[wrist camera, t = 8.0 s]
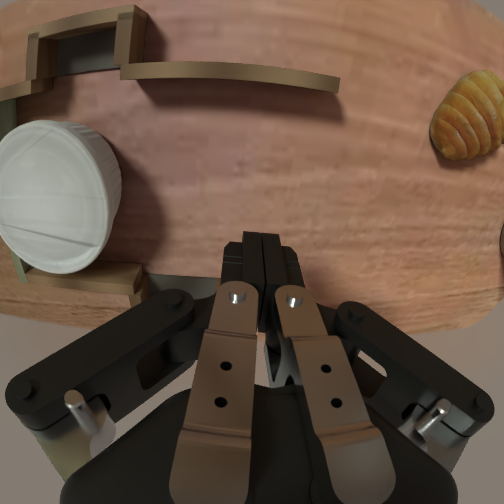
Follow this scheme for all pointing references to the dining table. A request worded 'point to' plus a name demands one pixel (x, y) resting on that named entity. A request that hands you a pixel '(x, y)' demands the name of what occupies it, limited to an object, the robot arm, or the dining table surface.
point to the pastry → (470, 117)
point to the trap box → (132, 67)
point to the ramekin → (57, 194)
